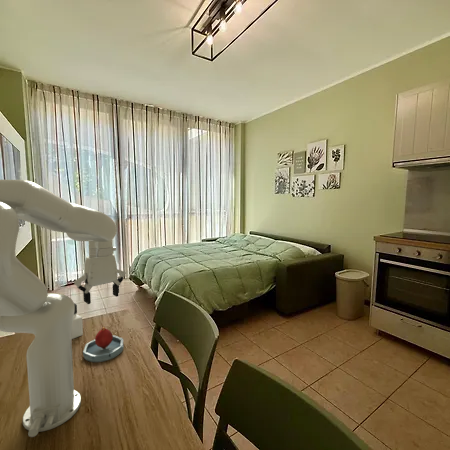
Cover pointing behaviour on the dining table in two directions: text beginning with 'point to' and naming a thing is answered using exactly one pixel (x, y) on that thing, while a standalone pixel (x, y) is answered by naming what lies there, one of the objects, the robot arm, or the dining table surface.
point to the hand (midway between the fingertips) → (102, 299)
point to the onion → (103, 338)
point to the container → (76, 324)
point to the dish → (103, 350)
